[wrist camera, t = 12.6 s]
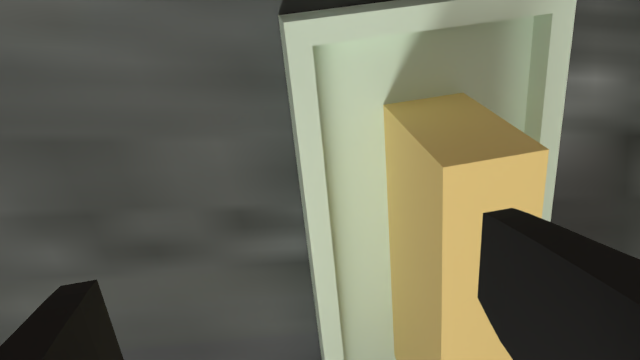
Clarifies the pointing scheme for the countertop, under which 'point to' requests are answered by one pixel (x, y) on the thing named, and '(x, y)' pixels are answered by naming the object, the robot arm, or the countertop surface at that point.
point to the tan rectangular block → (450, 218)
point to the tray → (369, 137)
